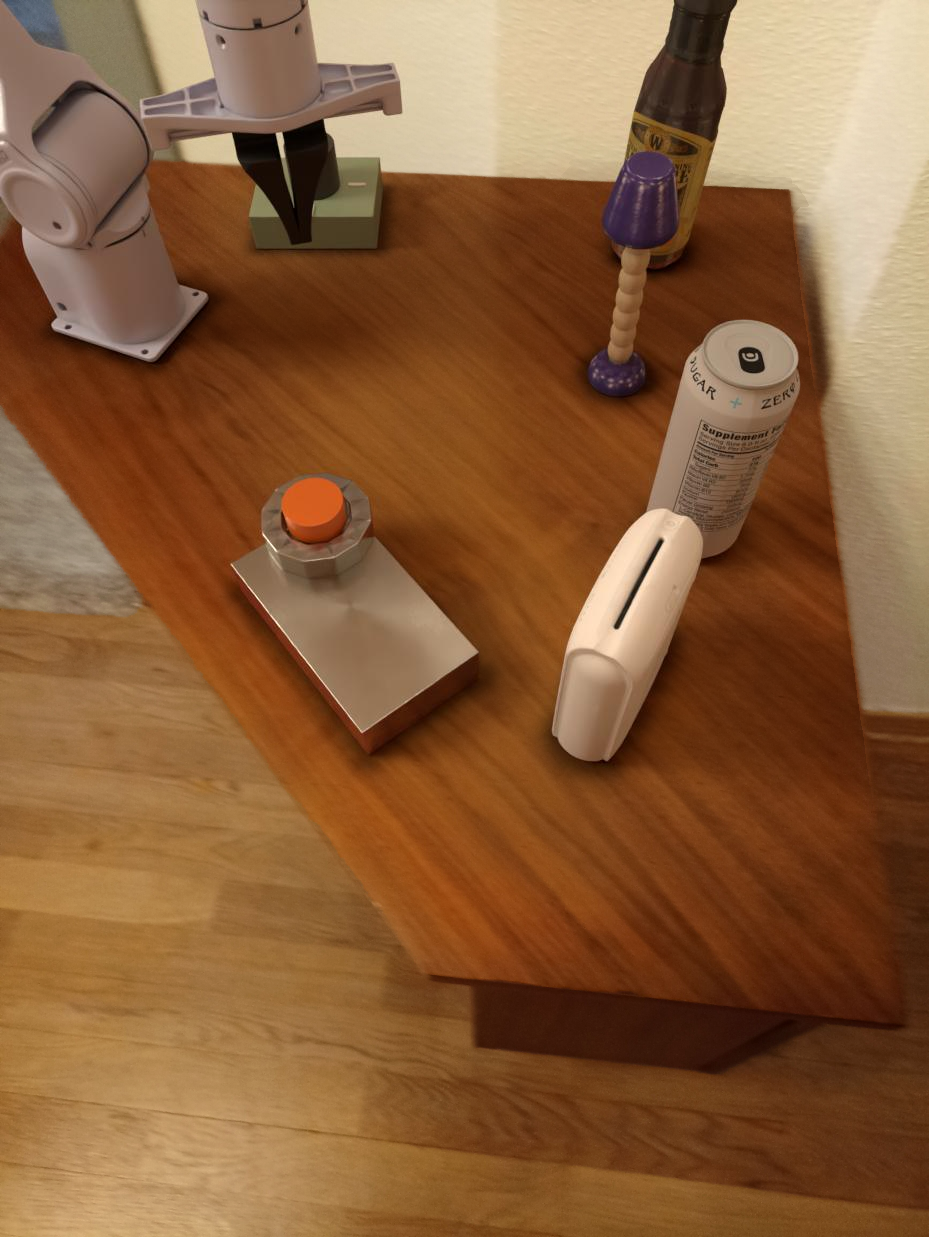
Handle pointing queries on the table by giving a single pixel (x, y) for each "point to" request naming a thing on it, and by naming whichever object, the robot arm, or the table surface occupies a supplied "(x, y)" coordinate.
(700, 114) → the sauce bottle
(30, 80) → the robot arm
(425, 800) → the table surface
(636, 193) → the toy lamp
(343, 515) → the button
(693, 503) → the energy drink can
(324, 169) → the knob
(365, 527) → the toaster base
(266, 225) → the panel
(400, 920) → the table surface
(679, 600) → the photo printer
